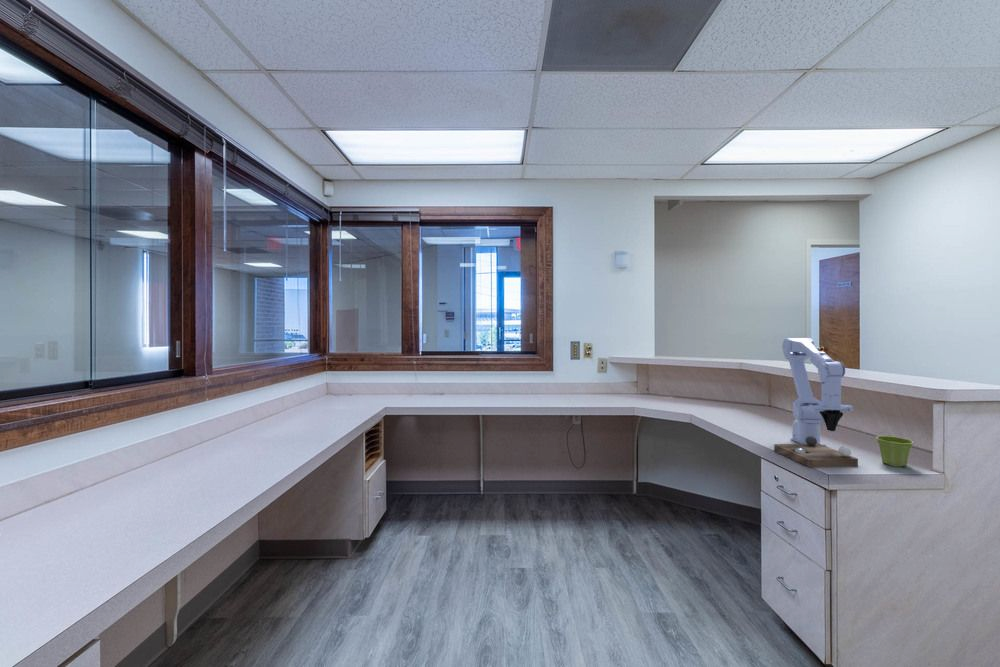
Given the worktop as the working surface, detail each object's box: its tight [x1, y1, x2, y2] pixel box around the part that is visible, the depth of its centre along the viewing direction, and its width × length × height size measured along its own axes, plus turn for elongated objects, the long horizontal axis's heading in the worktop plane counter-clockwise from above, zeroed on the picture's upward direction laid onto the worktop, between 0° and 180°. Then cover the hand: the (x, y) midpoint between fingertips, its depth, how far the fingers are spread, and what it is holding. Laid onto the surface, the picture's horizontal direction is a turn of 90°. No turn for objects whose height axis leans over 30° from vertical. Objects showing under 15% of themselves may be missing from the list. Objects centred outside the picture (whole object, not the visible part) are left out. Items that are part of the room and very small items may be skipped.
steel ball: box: [794, 448, 806, 453], centre depth 152 cm, size 4×4×4 cm
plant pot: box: [875, 435, 914, 467], centre depth 143 cm, size 9×9×9 cm
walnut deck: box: [773, 443, 859, 468], centre depth 151 cm, size 18×17×2 cm
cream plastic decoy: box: [837, 446, 852, 457], centre depth 145 cm, size 4×4×4 cm
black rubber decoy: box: [806, 436, 817, 446], centre depth 158 cm, size 4×4×4 cm
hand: (831, 430), depth 153 cm, fingers closed
